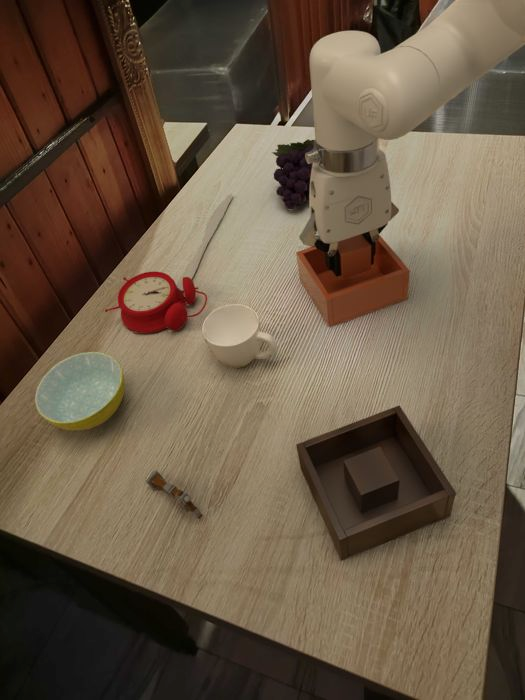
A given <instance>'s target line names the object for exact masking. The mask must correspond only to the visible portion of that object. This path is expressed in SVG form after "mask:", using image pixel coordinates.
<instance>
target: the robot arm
mask: <svg viewBox="0 0 525 700" xmlns="http://www.w3.org/2000/svg"><path fill="white" fill-rule="evenodd" d="M523 46H525V0H454V1H453V2H451V4H450V5H449V6H448V7H446V8H445V9H444V10H443V11H442V12H441V13H440V14H439V15H438V16H437V17H436V18H435V19H434V20H432V21H431V23H429V24H428V25H427V26H425V27H424V28H423V29H421V30H419V31H418V32H416V33H415V34H413V35H411V36H410V37H408V38H407V39H405V40H404V41H402V42H401V43H399V44H398V45H396V46H395V47H393V48H392V49H389V50H387V51H384V52H382V53H381V47H380V44H379V41H378V40H377V38H376V37H375V36H374V35H372V34H370V33H369V32H366V31H361V30H342V31H337V32H333V33H330V34H328V35H325V36H323V37H321V38H320V39H319V40H317V41H316V42H315V43H314V44H313V46H312V47H311V50H310V53H309V58H308V59H309V60H308V61H309V76H310V88H311V101H312V115H313V125H314V126H313V127H314V139H313V140H314V148H313V150H311V151H310V152H307V153H305V157H306V161H307V163H308V164H311V163H313V165H312V171H311V178H310V192H309V200H308V201H309V203H308V204H309V207H308V208H309V219H308V221H307V222H306V224H305V226H304V228H303V230H302V231H301V233H300V234H299V240H300V241H301V243H302V244H303V245H304V246H308V247H316V248H317V249H319V250H321V251H323V252H325V262H326V266H327V268H328V270H332V271H333V273H334V274H335V276H336V277H338V276H340V275H341V265H340V254H339V253H338V252H337V247H338V242H339V241H342V240H345V239H348V238H351V237H354V236H357V235H360V234H362V235H363V237H364V238H365V239H366V240H367V241H368V243H369V244H370V245H371V265H373V264H374V255H375V253H376V241H377V240H378V239H379V237H380V236H381V235H380V234H381V233H382V231H383V230H384V229H385V228H386V227H387V226H388V223H389V222H390V221H392V220H393V219H394V218H395V216H397V214H399V212H400V208H399V207H398V206H397V205H396V204H395V203H394V202H393V201H392V189H391V179H390V172H389V166H388V165H389V164H388V160H387V157H386V154H385V152H384V151H383V150H381V149H380V139H381V140H385V141H392V140H393V141H394V140H398V139H399V138H403V137H404V136H406V135H408V134H409V133H411V132H412V131H413V130H415V129H416V128H417V127H418V126H419V125H421V124H422V123H423V122H425V121H426V120H428V119H429V118H430V117H431V116H432V115H433V114H435V113H436V112H437V111H438V110H439V109H441V108H442V107H444V106H445V105H446V104H448V103H449V102H450V101H452V100H453V99H454V98H456V97H457V96H458V95H460V94H461V93H462V92H463V91H465V90H466V89H467V88H469V87H470V86H471V85H472V84H474V83H475V82H476V81H477V80H479V79H480V78H481V77H483V76H484V75H485V74H487V73H488V72H490V71H491V70H492V69H494V68H495V67H496V66H498V65H499V64H501V62H503V61H504V60H506V59H507V58H508V57H509V56H512V54H514V53H516V51H518V50H519V49H521V48H523ZM317 234H318V235H317ZM379 235H380V236H379Z"/></svg>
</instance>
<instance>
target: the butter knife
mask: <svg viewBox="0 0 525 700" xmlns="http://www.w3.org/2000/svg"><path fill="white" fill-rule="evenodd" d="M233 197H234V195H233V194H228V195H227V196H226V197H225V198H224V199H223V200H222V201H221V202H220V203H219V204H218V206H217V207H216V208H215V209H214V211H213V212H212V214H211V216H210V218H209V221H208V223H207V225H206V228H205V232H204V236H203V238H202V241H201V244H200V245H199V248H198V250H197V251H196V253H195V255H194V257H193V258H192V259H191V261H190V262H189V264H188V265H187V267H186V268H185V270H184V272H183V273H182V275H181V276H180V278H179V280H178V281H177V282H178V283H177V284H176V287H177V288H179V289H180V290H181V291H182V292H184V290H183V277H189V278H191V279H192V280H193V279H194V278H193V277H194V276H195V273H196V271H197V269H198V267H199V264H200V262H201V260H202V257H203V255H204V252H205V250H206V249H207V247H208V244H209V242H210V240H211V239H212V236H213V235H214V234H215V231H216V230H217V228H218V226H219V224H220V223H221V221H222V219H223V217H224V215H225V213H226V212H227V211H226V210H227V208H228V207H229V204H230V202H231V201H232V199H233Z"/></svg>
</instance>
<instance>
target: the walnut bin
mask: <svg viewBox="0 0 525 700" xmlns="http://www.w3.org/2000/svg"><path fill="white" fill-rule="evenodd" d="M379 446H380V447H381V448H382V450H383V452H384V453H385V455H386V457H387V459H388V460H389V462H390V464H391V466H392V467H393V469H394V471H395V472H396V474H397V476H398V478H399V479H400V482H399V493H398V499H395V500H393V501H390V502H388V503H385V504H383V505H380V506H378V507H375V508H373V509H370V510H368V511H365V512H363V513H361V511H360V509H359V507H358V505H357V503H356V501H355V499H354V497H353V495H352V493H351V491H350V489H349V487H348V485H347V483H346V481H345V477H344V463H343V460H346V459H348V458H351V457H353V456H356V455H359V454H361V453H364V452H366V451H369V450H371V449H374V448H377V447H379ZM295 447H296V451H297V456H298V461H299V466H300V470H301V473H302V475H303V477H304V480H305V481H306V484H307V486H308V488H309V491H310V493H311V495H312V498H313V500H314V502H315V504H316V507H317V509H318V511H319V513H320V516H321V518H322V520H323V522H324V525H325V528H326V529H327V532H328V534H329V536H330V538H331V541H332V544H333V546H334V547H335V550H336V552H337V554H338V557H339V559H340V561H345V560H347V559H350V558H352V557H353V556H357V555H359V554H361V553H363V552H366V551H369V550H371V549H373V548H376V547H379V546H381V545H383V544H385V543H389V542H390V541H393V540H396V539H398V538H400V537H402V536H403V537H404V536H406V535H407V534H411V533H412V532H416V531H417V530H420V529H423V528H425V527H428V526H430V525H432V524H434V523H438V522H439V521H442V520H445V519H447V518H450V517H451V513H452V509H453V506H454V502H455V499H456V494H457V492H456V491H455V489H454V488H453V486H452V484H451V483H450V481H449V479H448V478H447V477H446V474H445V473H444V472H443V470H442V469H441V467H440V466H439V464H438V463H437V461H436V460H435V457H434V456H433V454H431V452H430V450H429V448H428V447H427V446H426V444H425V442H424V441H423V439H422V437H421V436H420V435H419V433H418V432H417V430H416V428H415V426H414V425H413V423H412V422H411V421H410V419H409V418H408V416H407V415H406V413H405V411H404V410H403V409H402V407H401V405H397V406H394V407H391V408H388V409H386V410H383V411H380V412H377V413H375V414H373V415H370V416H367V417H365V418H361V419H360V420H357V421H354V422H352V423H349V424H346V425H344V426H340V427H338V428H336V429H333V430H330V431H327V432H325V433H322V434H320V435H317V436H314V437H312V438H309V439H307V440H304V441H301V442H299V443H296V444H295Z"/></svg>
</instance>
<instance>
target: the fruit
mask: <svg viewBox="0 0 525 700" xmlns="http://www.w3.org/2000/svg"><path fill="white" fill-rule="evenodd" d="M314 140H315V139H311V140H310V139H306V140H305V141H303V142H300V141H296V142H290V143H287V144H284V143H283V144H277V145H276V146H277V148H276V149H275V151H273V152H271V153H272V154H273V155H274V156H275V157H276V159H275V163H276V166H277V167H278V168H276V169H275V170H274V173H273V179H274V180H275V182H278V185H280V186H278V187H277V189H276V190H275V192H276V195H278V196H280V197H282V202H283V204H284V205H285V207H286V208H287V209H288V210H290V211H291V210H294V209H295V208H296V207H297V204H298V205H304V203H305V202H308V201H309V192H310V178H311V171H312V165H313V163H311V164H308V163H307V161H306V157H305V153H307V152H310V151H311V150H313V148H314Z"/></svg>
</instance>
